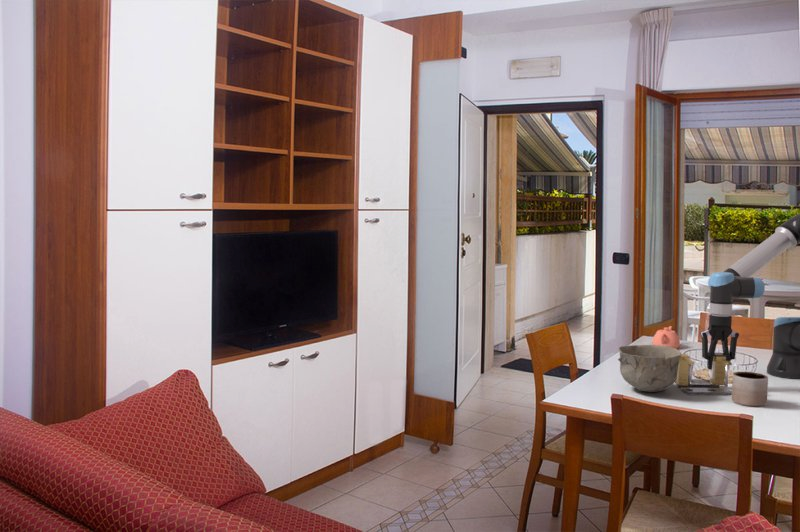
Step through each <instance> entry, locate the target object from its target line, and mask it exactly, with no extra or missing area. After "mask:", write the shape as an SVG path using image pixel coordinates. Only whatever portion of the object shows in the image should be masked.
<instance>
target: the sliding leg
mask: <svg viewBox="0 0 800 532" xmlns="http://www.w3.org/2000/svg"><path fill="white" fill-rule="evenodd" d="M713 361H715V373H714V379H711V378H710V377H709V383H710V384H714V385H720V386H724V388H729V386H728V385H729V369H730V366H732V362H731V361H728V360H726V355H725V354H723V352H715V353H714V358H713ZM725 364H726V369H725Z"/></svg>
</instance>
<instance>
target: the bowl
mask: <svg viewBox="0 0 800 532" xmlns="http://www.w3.org/2000/svg"><path fill="white" fill-rule="evenodd" d="M617 349H618V352H619V358H618V359H617V360H618V362H620V363H619V364H620V365H619V372H620V374H621V376H622V379H623V380H624V381H625V382H626V383H627V384H628V385H630V386H631V387H633V388H635V389H637V390H638V391H642V392H645V393H647V392H648V393H657V392H663V391H665V390H667V389H669V388H670V387H671V386H672V385H673V384H675V380H676V379H677V370H678V365H679V360H680V357H681V355H682V354H683V353H682V352H681V351H680V349H678V348H677V349H675V348H672V347H668V346H657V345H652V344H638V345H635V344H634V345H621V346H619V347H618V348H617Z"/></svg>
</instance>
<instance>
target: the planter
mask: <svg viewBox="0 0 800 532" xmlns="http://www.w3.org/2000/svg"><path fill="white" fill-rule="evenodd" d="M768 385H769V376H768V375H765V374H763V373H759V372H754V371H753V372H752V371H735V372H733V373H732V385H731V391H732V395H730V396H731V401H732V402H733V403H735V404H737V405H740V406H745V407H751V408H752V407H753V408H758V407H759V408H760V407H761V408H762V407H765V406H766V405H767V403H768Z"/></svg>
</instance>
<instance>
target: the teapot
mask: <svg viewBox="0 0 800 532" xmlns="http://www.w3.org/2000/svg"><path fill="white" fill-rule="evenodd" d="M672 329H673V326H671V325H669V326H668V327H663V329H658V330H657V331H655V333H654V336H653V338H652V343H651V345H657V346H668V347H672V348H675V349H677V350H678V348H679V347H680V345H681V342H680V337H679V336H678V334H677V332H676V331H675V330H672Z"/></svg>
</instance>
